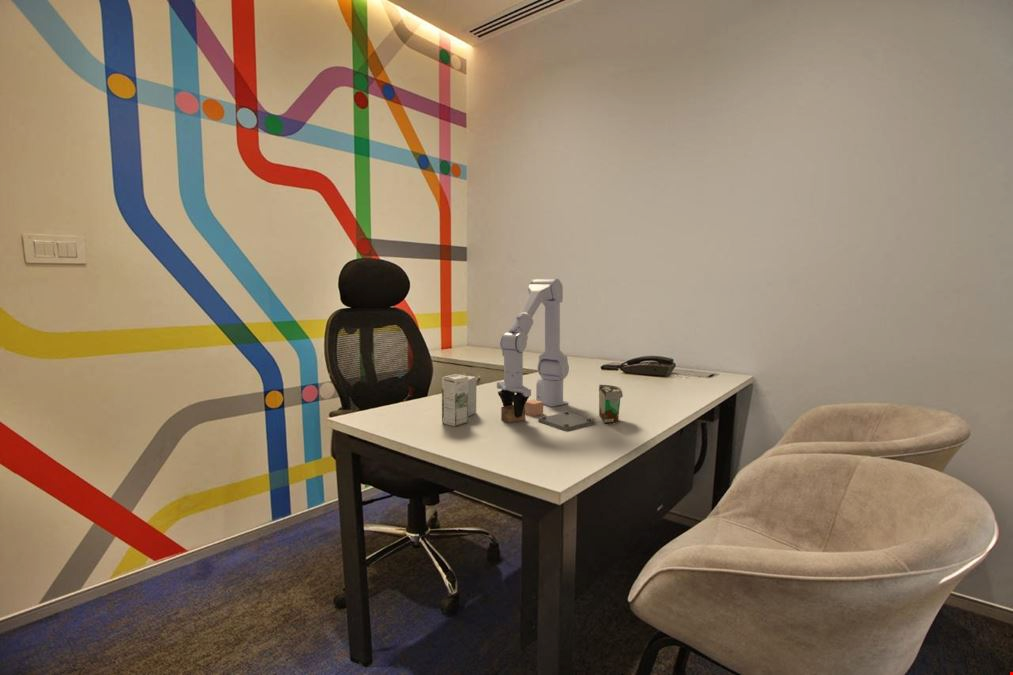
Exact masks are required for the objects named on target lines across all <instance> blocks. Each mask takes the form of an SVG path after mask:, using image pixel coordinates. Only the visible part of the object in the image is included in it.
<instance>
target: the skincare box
mask: <svg viewBox="0 0 1013 675" xmlns="http://www.w3.org/2000/svg"><path fill="white" fill-rule="evenodd" d="M466 376H467V377H468V418H469V417H470V416H472V415H474V414H476V413H477V376H473V375H472V376H471V375H466Z"/></svg>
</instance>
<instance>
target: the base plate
mask: <svg viewBox="0 0 1013 675" xmlns="http://www.w3.org/2000/svg"><path fill="white" fill-rule="evenodd" d="M537 420H538V422H539V423H542V424H545V425H547V426H549V427H553V428H556V429H559V430H562V431H565V432H568V431H571V430H576V429H578V428H579V429H580V428H584V427H586V426H587V425H588V426H591V425H595V423H596V421H595V419H592V417H584V416H581V415H577V414H575V413H571V412H569V411H568V410H564V412H562V413H561V412H560V413H556V414H553V415H552V414H551V415H547V416H546V415H542V416H541V417H538V419H537ZM583 426H584V427H583Z"/></svg>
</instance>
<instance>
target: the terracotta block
mask: <svg viewBox="0 0 1013 675" xmlns="http://www.w3.org/2000/svg"><path fill="white" fill-rule="evenodd" d="M524 407H525V415H528V416H531V417H534V416H540V415H543V414H544V404H543V402H541V401H538V400H536V399H530V400H527V401H526V403H525V406H524Z"/></svg>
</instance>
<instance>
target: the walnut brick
mask: <svg viewBox="0 0 1013 675" xmlns="http://www.w3.org/2000/svg"><path fill="white" fill-rule="evenodd" d="M500 413H501V414H500V416H501V417H500V420H501V421H504V422H506V423H509V424H512V423H516V422H521V421H525V420H526V414H525V407H524V409H523V413H522V417H517V418H516V417H515V414H514V404H513V405H509V406H504V407H503V406H501V408H500Z"/></svg>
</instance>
